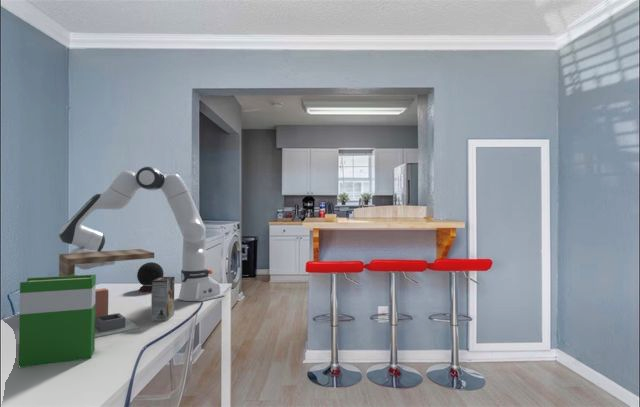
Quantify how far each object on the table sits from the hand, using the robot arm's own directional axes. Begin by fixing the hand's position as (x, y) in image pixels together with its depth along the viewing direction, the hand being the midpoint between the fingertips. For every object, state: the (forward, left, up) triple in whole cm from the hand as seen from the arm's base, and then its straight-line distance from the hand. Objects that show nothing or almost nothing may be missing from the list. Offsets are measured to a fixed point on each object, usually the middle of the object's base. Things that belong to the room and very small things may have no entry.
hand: (93, 263), depth 162 cm
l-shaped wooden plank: (0, +26, -21) cm, 33 cm away
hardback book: (+19, +47, -21) cm, 55 cm away
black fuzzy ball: (-34, -31, -21) cm, 51 cm away
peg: (0, +12, -21) cm, 24 cm away
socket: (0, +26, -21) cm, 33 cm away
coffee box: (-20, +25, -21) cm, 38 cm away
